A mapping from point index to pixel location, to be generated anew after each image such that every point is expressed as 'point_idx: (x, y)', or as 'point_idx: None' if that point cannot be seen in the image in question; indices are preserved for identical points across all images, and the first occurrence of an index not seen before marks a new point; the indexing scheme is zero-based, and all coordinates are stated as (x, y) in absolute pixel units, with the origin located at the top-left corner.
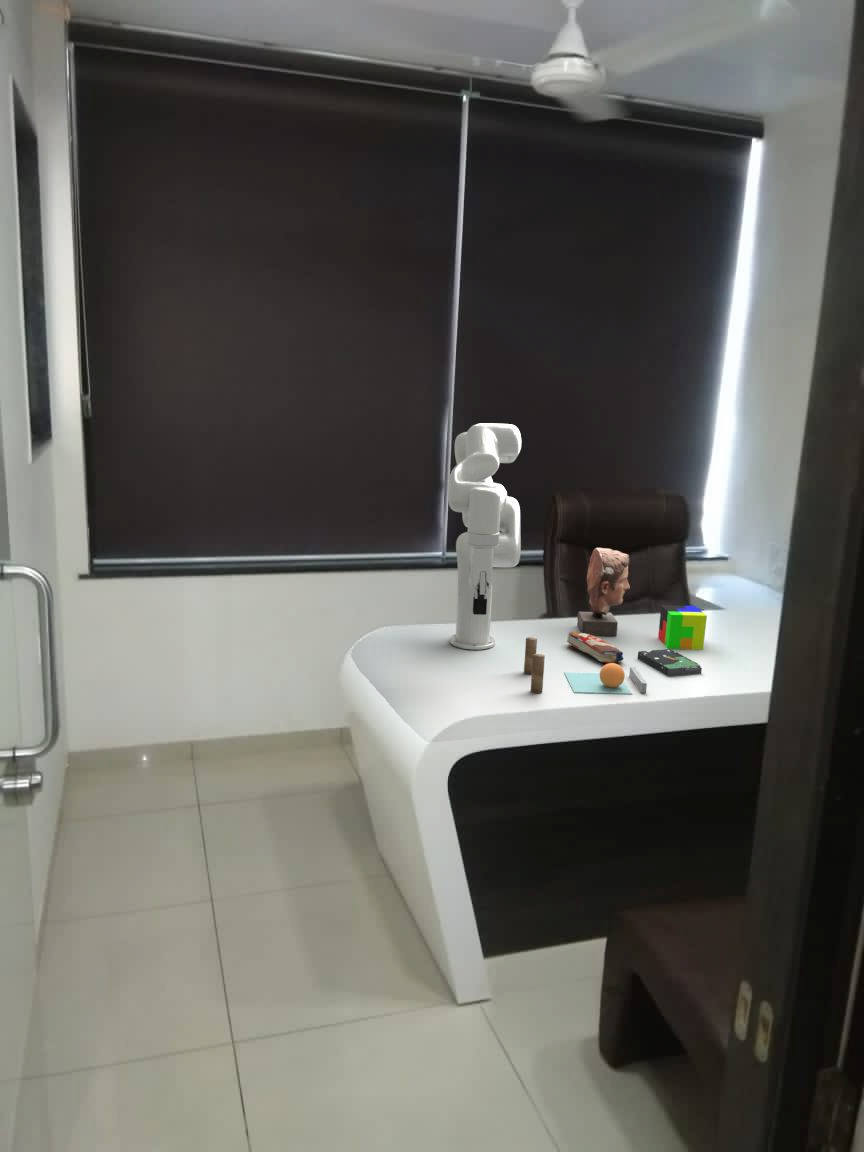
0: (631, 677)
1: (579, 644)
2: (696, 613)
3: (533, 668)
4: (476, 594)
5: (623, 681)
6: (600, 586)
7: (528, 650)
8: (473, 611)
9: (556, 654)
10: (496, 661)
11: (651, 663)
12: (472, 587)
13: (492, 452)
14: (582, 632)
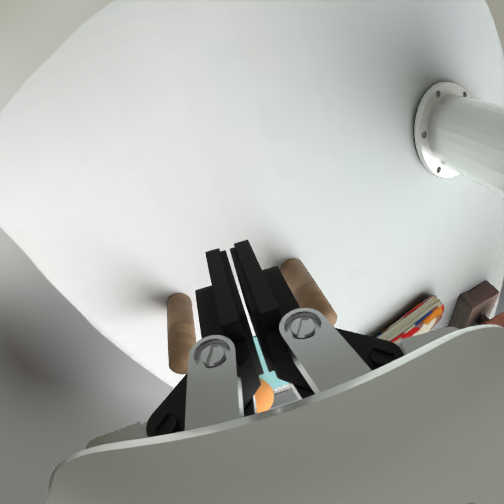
0: (291, 391)
1: (405, 323)
2: None
3: (170, 336)
4: (191, 386)
5: (275, 387)
6: None
7: (301, 302)
8: (207, 260)
9: (395, 286)
10: (353, 190)
11: None
12: (57, 466)
13: None
14: (462, 298)
